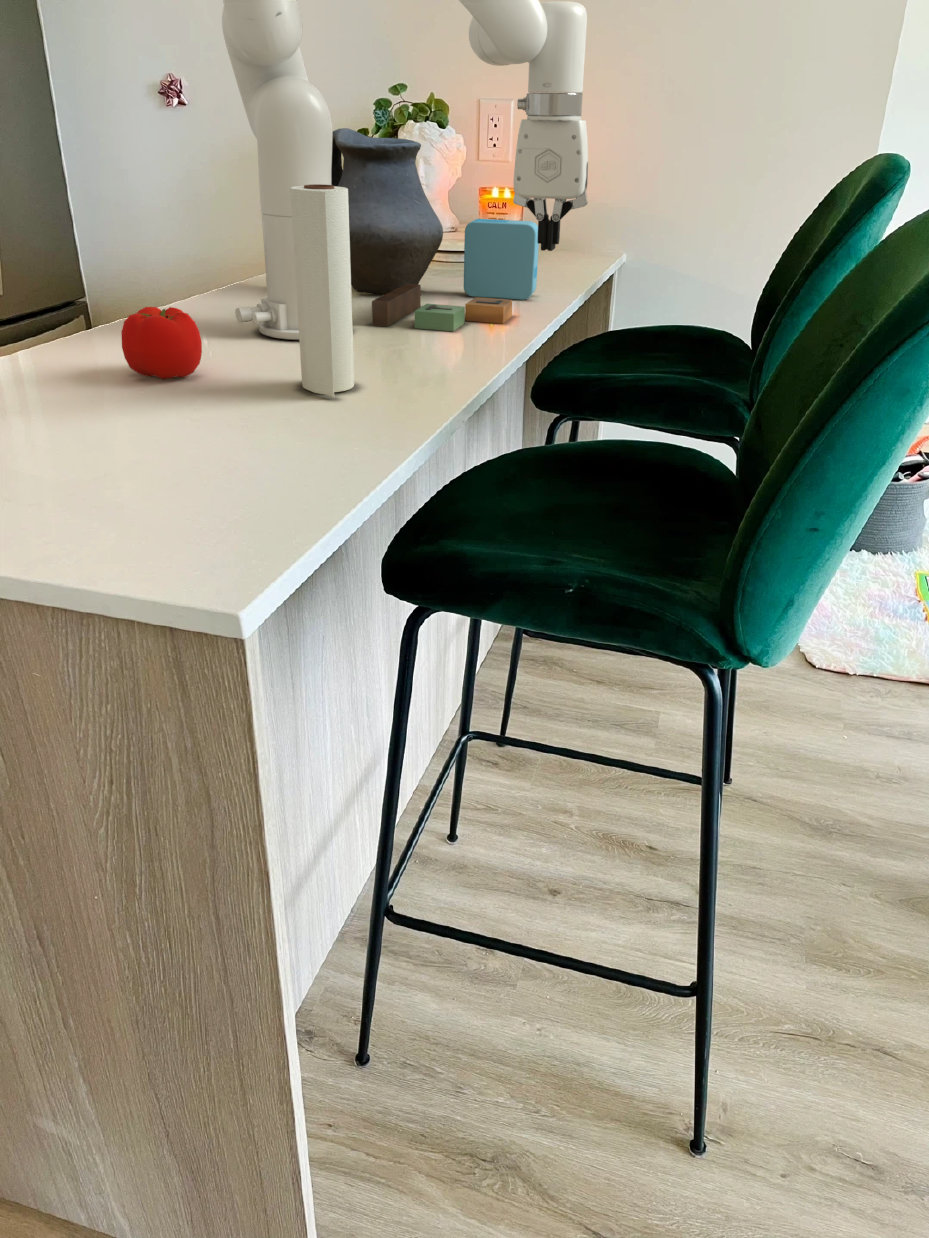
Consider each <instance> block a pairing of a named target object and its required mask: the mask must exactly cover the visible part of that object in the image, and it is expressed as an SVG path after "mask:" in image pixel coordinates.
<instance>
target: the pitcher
mask: <svg viewBox="0 0 929 1238" xmlns="http://www.w3.org/2000/svg"><path fill="white" fill-rule="evenodd" d="M421 147H422V144H421V143H420V142H418V141H414V140H411V139H407V138H395V137H394V138H393V137H372V136H367V135H365V134H364V133H360V132H358V131H356V130H354V129H351V128H348V127H347V128H346V127H343V128H342V127H341V128H337V129H335V130H332V168H331V184H332V185H333V186H336V187H345V188H347V189H348V205H349V236H350V267H351V288H353V289H354V290H355V291H356V292H357V293H365V294H370V295H375V296H378V295H379V296H383V295H385V294H387V293H389V292H391V291H393V290H395V289H397V288H399V287H401V286H403V285H405V284H419V285H420V281H421V280H422V278H423V277H424V275H425V274H426V271H427V270H428V269H429V266H430V264H431V263H432V261H433V259H434V258H435V256H436V255H437V252H438V250H439V248H440V247H441V244H442V242H443V237H444V227H443V225H442V222H441V221H440V219H439V217H438V215H437V214H436V212H435V210H434V209H433V207H432V205H431V203H430V201H429V199H428V197H427V195H426V193H425V190H424V188H423V186H422V185H423V184H422V181H421V178H420V176H419V171H418V168H417V164H416V160H417V156H418V153H419V151H420V150H421ZM342 158H343V159H342Z"/></svg>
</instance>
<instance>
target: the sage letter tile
mask: <svg viewBox="0 0 929 1238" xmlns="http://www.w3.org/2000/svg"><path fill="white" fill-rule="evenodd" d="M464 324H465V305H451V304H450V305H449V304H439V303H438V304H436V303H425V304H424V305H421V307H420V308H418V309H416V310H415V311H414V329H422V330H432V331H442V332H443V331H444V332H455V331H456V330H458V329H459V328H460V327H462V326H463V325H464Z"/></svg>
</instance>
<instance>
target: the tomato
mask: <svg viewBox="0 0 929 1238" xmlns="http://www.w3.org/2000/svg"><path fill="white" fill-rule="evenodd" d="M121 349H122V352H123V357H124V359H125V361H126V363H127V365H128V366H129V368H130V369H131V370H132V371H134V373H137V374H140V375H142V376H146V377H156V378H159V379H161V380H169V379H172V378H179V379H181V378H182V379H183V378H185V377H188V376H190V375H192V374H193V373H194V372H195V371H196V370H197V368H198V367H199V365H200V364H201V359H202V353H203V350H202V349H203V343H202V337H201V332H200V329H199V327H198V325H197V323H196V321H195V320H194V319H193V318H192V317H191V315H189V313H187V312H184V311H183V310H182V309H180V308H177V307H172V306H169V307H167V308H163V309H160V308H159V307H157V306H144V307H143V308H141V309H139V310H138V311H137V312H135V313H133V314H129V315H128V317H127V318H126V319H125V320H124V321H123V324H122V328H121Z"/></svg>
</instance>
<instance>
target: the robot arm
mask: <svg viewBox="0 0 929 1238" xmlns="http://www.w3.org/2000/svg"><path fill="white" fill-rule="evenodd" d="M458 1H459V2H460V4H461V5H462V6H463V7H464V8H465V9H466V10H467V11H468V12H469V14H470V15H471V16H472V18H471V20H470V23H469V26H468V27H469V28H468V40H469V44H470V47H471V50H472V52H473V53H474V54H475V56H476V57H478V59H480V60H481V61H483V62H484V63H485V64H488V65H492V66H497V67H499V66H500V67H501V66H502V67H503V66H509V65H520V64H521V65H522V64H526V63H528V79H527V80H528V81H527V82H528V83H527V84H528V85H527V87H528V88H527V92H528V93H526V96H525V97H523V98H517V102H516V107H517V110H522V111H524V112H525V115H526V118H523V119H521V120H520V122H519V124H520V125H519V128H518V133H517V141H516V148H515V149H516V150H515V158H514V171H513V192H514V196H513V201H512V202H513V204H514V205H515V206H520V207H523V208H527V209H528V210H529V211H530V212H531V214H532V215H533V216H534V217H535V219H536V221H537V226H538V244H539V245H540V251H548V252H553V251H554V250H555V249H556V245H559V244H560V237H561V236H560V235H561V220H562V219H563V218H564V217H565V216H566V215H567V214H568V213H569V212H570V211H571V210H576V209H579V208H584V207H586V206H587V205H588V204H589V203H588V202H589V200H588V194H587V189H588V184H589V183H588V181H589V138H588V128H587V121H586V119H582V113H583V111H582V110H583V95H584V94H583V92H584V78H585V77H584V76H585V62H586V46H587V45H586V43H587V28H588V13H587V9H586V7H585V6H584V5H583V4H582V3H579V2H576V1H567V0H566V1H564V0H563V1H562V0H558V1H557V0H556V1H555V0H554V1H553V0H552V1H544V2H540V0H458ZM222 2H223V8H222V12H221V29H222V34H223V38H224V39H223V40H224V42H225V46H226V49H227V54H228V57H229V60H230V64H231V67H232V71H233V74H234V78H235V81H236V84H237V88H238V92H239V94H240V98H241V101H242V105H243V108H244V111H245V114H246V117H247V121H248V123H249V127H250V129H251V131H252V134H253V135H254V137H255V139H256V143H257V163H258V165H257V166H258V185H259V203H260V213H261V224H262V225H261V226H262V237H263V251H264V252H263V254H264V266H265V279H266V281H265V282H266V289H267V290H266V292H267V297H261V298H260V303H257V304H256V306H253V307H250V306H245V307H238V308H236V309H235V312H234V313H235V319H236V321H237V322H238V323H239V324H240V323H249V322H253V323H254V324H258V331H259V332H260V334H262V335H264V336H265V337H270V338H274V339H281V340H293V341H299V324H298V307H297V290H296V274H295V257H294V240H293V223H292V206H291V190H290V188H291V187H295V186H304V185H312V184H321V185H332V184H331V168H332V131H333V121H332V115H331V111H330V109H329V106H328V104H327V101H326V100H325V97H324V96H323V95H322V93H321V92H320V91H319V89H318V88H317V87H316V86H315V85H313V84H312V83H311V82H310V81H309V77H308V73H307V69H306V65H305V62H304V61H305V60H304V57H303V54H302V50H301V41H302V38H303V31H304V29H303V28H304V25H303V18H302V17H303V16H302V13H301V11H300V8H299V7H300V6H299V4H298V1H297V0H222ZM547 199H549V200H550V199H551V200H552V199H553V200H554V203H553V208H552V213H551V215H550V216H549V214H548V205H547V204H548V203H547ZM549 217H550V218H549Z"/></svg>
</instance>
